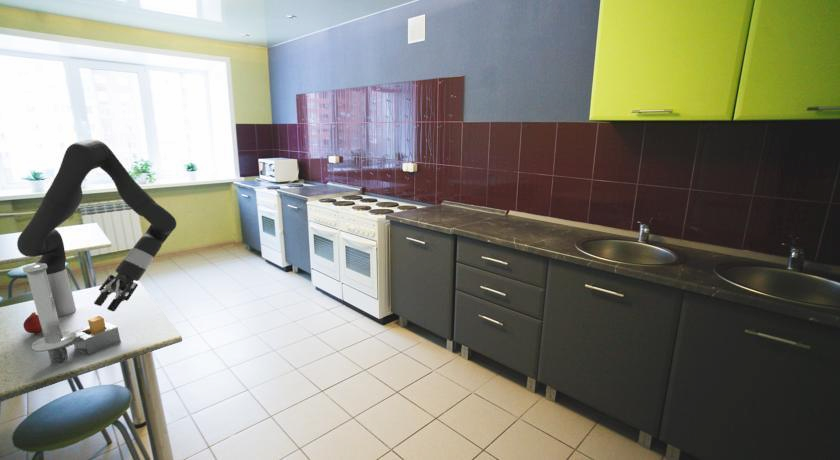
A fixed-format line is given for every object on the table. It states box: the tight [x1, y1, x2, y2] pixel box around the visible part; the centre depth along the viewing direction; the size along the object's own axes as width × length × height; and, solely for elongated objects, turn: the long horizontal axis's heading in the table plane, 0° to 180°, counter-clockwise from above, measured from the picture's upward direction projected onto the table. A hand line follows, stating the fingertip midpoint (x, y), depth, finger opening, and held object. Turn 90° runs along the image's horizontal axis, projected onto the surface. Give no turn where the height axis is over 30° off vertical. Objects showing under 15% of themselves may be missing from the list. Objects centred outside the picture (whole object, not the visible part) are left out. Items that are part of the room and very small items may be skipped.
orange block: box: [87, 315, 106, 334], centre depth 129 cm, size 3×3×9 cm
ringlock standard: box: [22, 263, 121, 365], centre depth 121 cm, size 10×20×30 cm, turn 152°
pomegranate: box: [23, 311, 43, 335], centre depth 135 cm, size 6×6×8 cm
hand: (103, 307), depth 129 cm, fingers open, 8 cm apart
